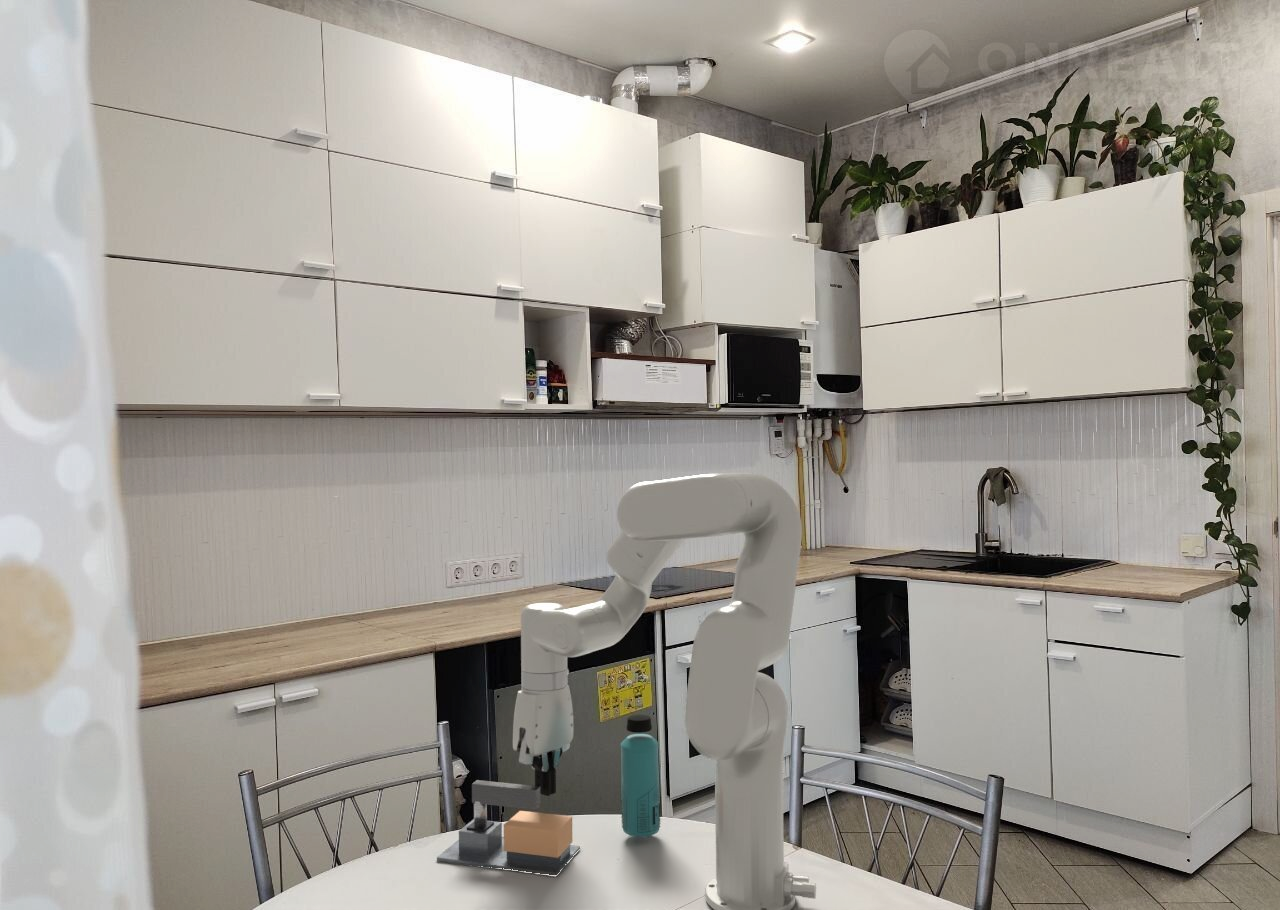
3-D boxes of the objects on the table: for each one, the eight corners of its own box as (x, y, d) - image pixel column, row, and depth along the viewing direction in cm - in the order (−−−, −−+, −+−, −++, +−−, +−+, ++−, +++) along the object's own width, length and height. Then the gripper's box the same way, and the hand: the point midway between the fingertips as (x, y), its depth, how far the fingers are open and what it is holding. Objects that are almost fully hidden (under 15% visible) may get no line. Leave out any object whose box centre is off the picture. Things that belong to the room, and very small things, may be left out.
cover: (572, 841, 143) (572, 816, 143) (558, 857, 138) (557, 831, 138) (520, 835, 146) (519, 810, 146) (503, 850, 140) (503, 824, 140)
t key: (540, 827, 143) (540, 786, 143) (535, 832, 141) (535, 790, 141) (477, 820, 146) (477, 779, 146) (471, 825, 144) (471, 784, 144)
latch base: (580, 849, 145) (579, 822, 145) (556, 877, 135) (555, 848, 136) (467, 836, 151) (467, 810, 151) (436, 861, 141) (436, 833, 141)
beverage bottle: (657, 847, 145) (655, 722, 146) (616, 844, 147) (615, 720, 147) (664, 831, 152) (662, 711, 152) (625, 829, 153) (624, 710, 153)
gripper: (559, 668, 156) (560, 775, 156) (494, 685, 145) (495, 801, 144) (592, 674, 152) (593, 785, 152) (528, 692, 140) (528, 812, 140)
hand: (545, 792), depth 148 cm, fingers closed
